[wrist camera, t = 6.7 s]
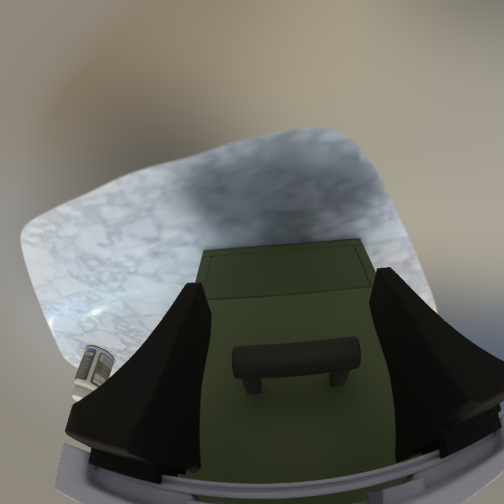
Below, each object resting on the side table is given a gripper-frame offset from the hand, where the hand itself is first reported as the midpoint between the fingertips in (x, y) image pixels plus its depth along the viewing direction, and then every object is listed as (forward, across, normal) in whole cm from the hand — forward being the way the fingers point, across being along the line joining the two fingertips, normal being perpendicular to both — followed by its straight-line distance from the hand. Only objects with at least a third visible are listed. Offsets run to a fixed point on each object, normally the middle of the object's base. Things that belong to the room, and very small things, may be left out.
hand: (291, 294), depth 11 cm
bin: (+10, 0, +12) cm, 15 cm away
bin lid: (-4, 0, +5) cm, 6 cm away
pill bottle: (+10, +27, +22) cm, 36 cm away
